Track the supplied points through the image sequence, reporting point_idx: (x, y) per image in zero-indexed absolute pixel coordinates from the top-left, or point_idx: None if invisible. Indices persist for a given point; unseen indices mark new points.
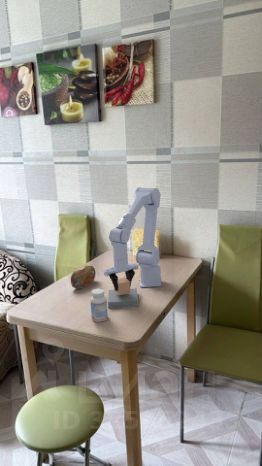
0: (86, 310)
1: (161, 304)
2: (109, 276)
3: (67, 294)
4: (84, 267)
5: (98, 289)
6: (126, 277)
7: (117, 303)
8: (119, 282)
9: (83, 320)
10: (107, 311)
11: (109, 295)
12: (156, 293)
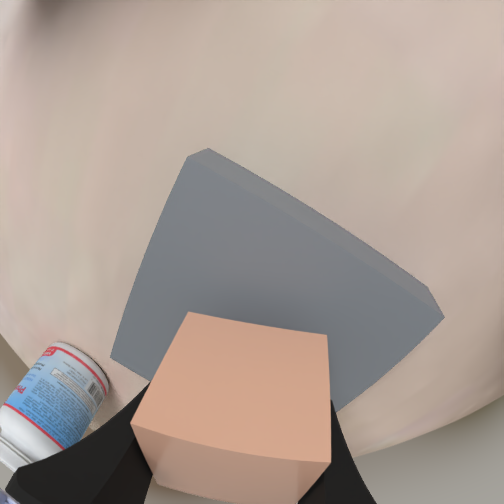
0: (29, 268)
1: (390, 439)
2: (41, 473)
3: (5, 5)
4: None
5: (10, 467)
6: (320, 494)
7: None
8: (178, 482)
9: (26, 331)
10: (95, 413)
11: (145, 284)
12: (489, 353)
